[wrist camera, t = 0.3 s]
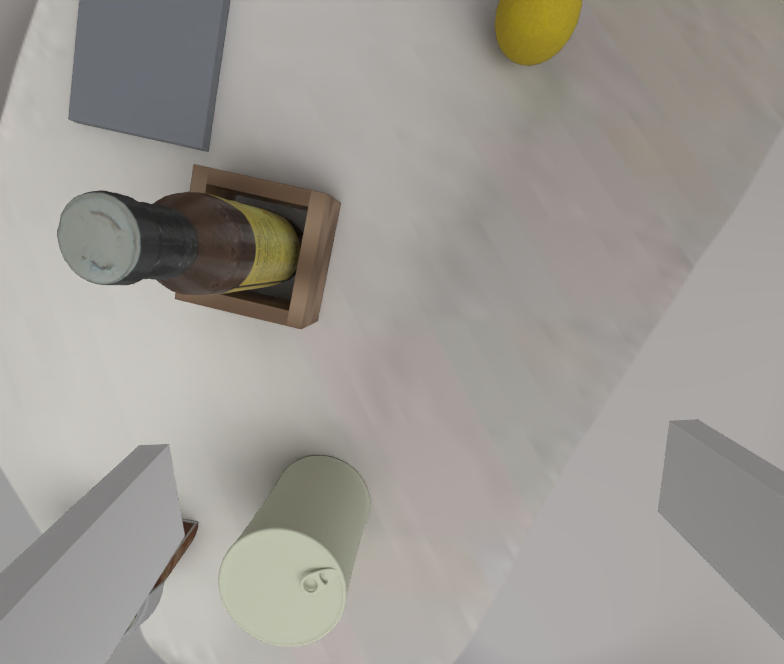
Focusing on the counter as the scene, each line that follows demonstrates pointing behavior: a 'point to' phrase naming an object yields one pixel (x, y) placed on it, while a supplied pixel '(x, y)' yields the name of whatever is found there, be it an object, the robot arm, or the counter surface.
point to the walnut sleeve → (312, 249)
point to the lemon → (535, 28)
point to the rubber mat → (149, 67)
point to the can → (297, 554)
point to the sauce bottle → (178, 242)
